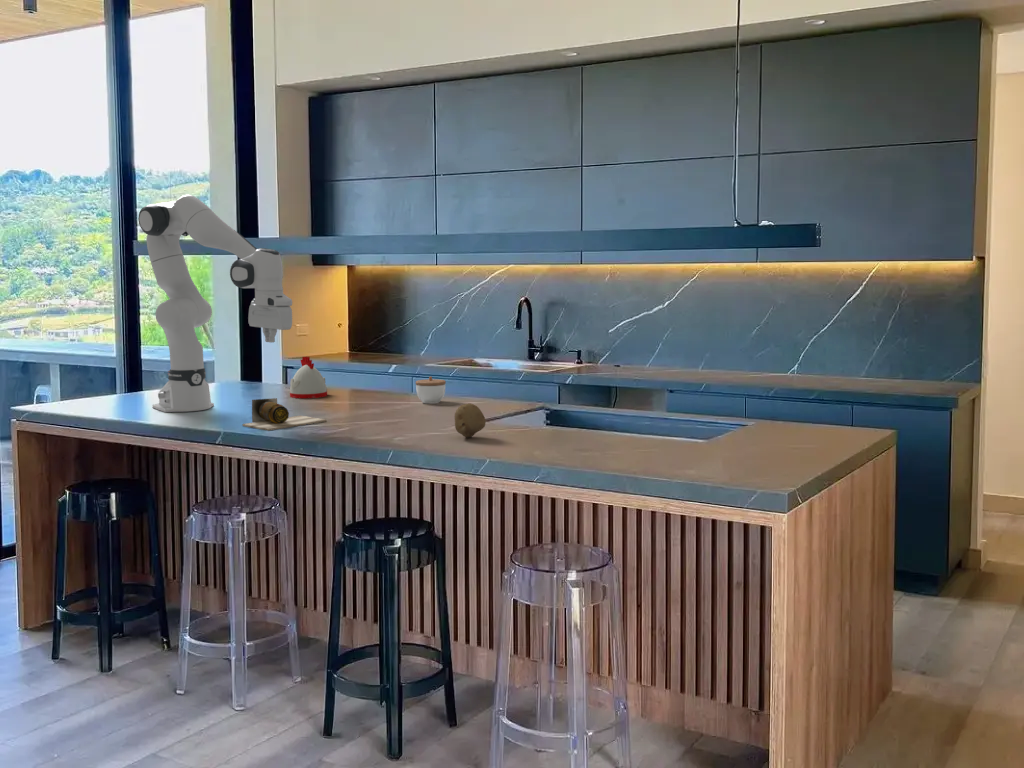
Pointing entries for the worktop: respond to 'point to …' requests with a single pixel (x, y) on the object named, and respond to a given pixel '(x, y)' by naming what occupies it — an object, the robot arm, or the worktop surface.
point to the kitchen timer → (308, 381)
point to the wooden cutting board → (284, 423)
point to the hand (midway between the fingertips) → (270, 342)
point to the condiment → (268, 411)
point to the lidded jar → (430, 390)
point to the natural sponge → (469, 420)
